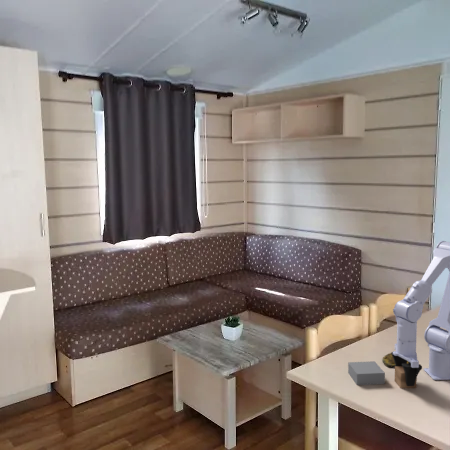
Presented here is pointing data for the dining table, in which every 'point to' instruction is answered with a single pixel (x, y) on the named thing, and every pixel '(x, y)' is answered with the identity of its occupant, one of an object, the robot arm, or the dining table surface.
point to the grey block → (366, 373)
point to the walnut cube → (402, 378)
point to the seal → (389, 360)
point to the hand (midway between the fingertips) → (405, 380)
